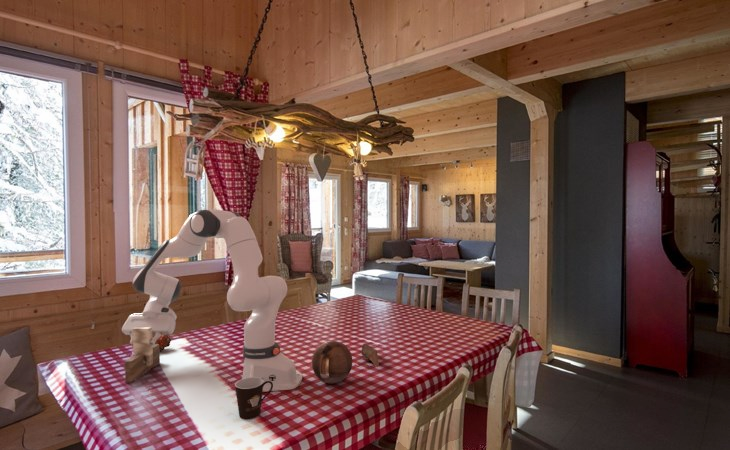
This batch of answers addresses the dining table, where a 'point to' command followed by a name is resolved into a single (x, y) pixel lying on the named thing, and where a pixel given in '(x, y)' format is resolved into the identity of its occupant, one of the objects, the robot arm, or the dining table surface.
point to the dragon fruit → (163, 341)
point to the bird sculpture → (370, 354)
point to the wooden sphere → (332, 362)
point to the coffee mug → (250, 396)
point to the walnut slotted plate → (140, 364)
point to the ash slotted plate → (143, 343)
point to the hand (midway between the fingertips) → (142, 343)
